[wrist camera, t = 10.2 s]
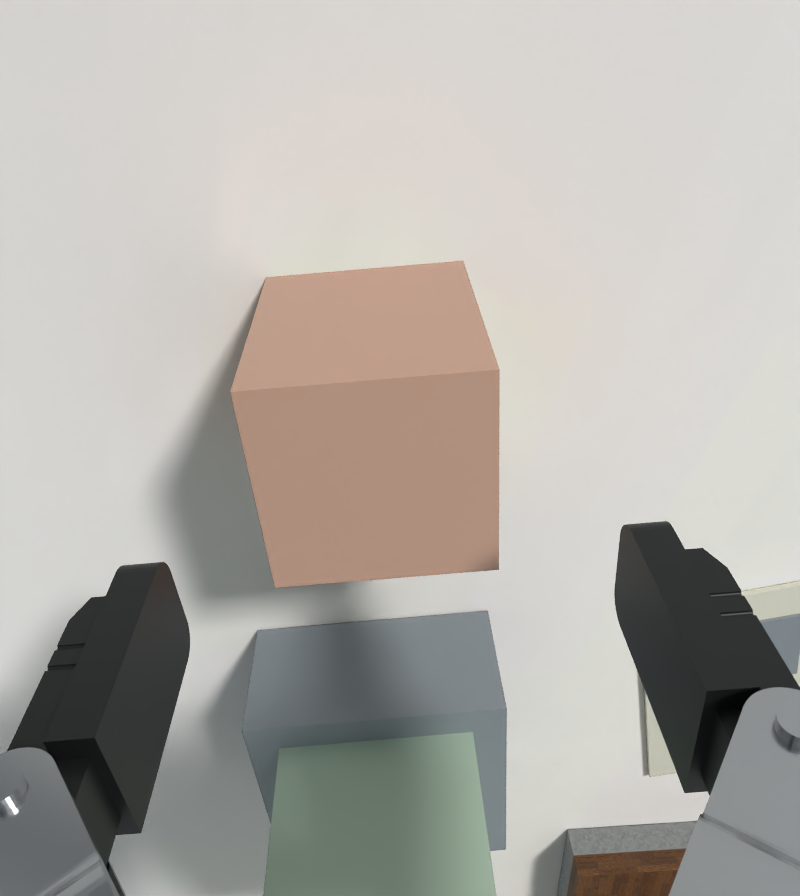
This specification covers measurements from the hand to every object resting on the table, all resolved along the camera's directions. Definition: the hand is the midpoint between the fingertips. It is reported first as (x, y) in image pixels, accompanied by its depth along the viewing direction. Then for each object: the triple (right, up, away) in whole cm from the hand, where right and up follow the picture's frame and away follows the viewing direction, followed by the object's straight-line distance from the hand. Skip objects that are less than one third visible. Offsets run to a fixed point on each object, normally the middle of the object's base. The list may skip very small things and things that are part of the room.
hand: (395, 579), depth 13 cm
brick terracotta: (-1, +5, +7) cm, 8 cm away
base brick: (-1, -7, +14) cm, 16 cm away
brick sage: (0, -9, +11) cm, 14 cm away
